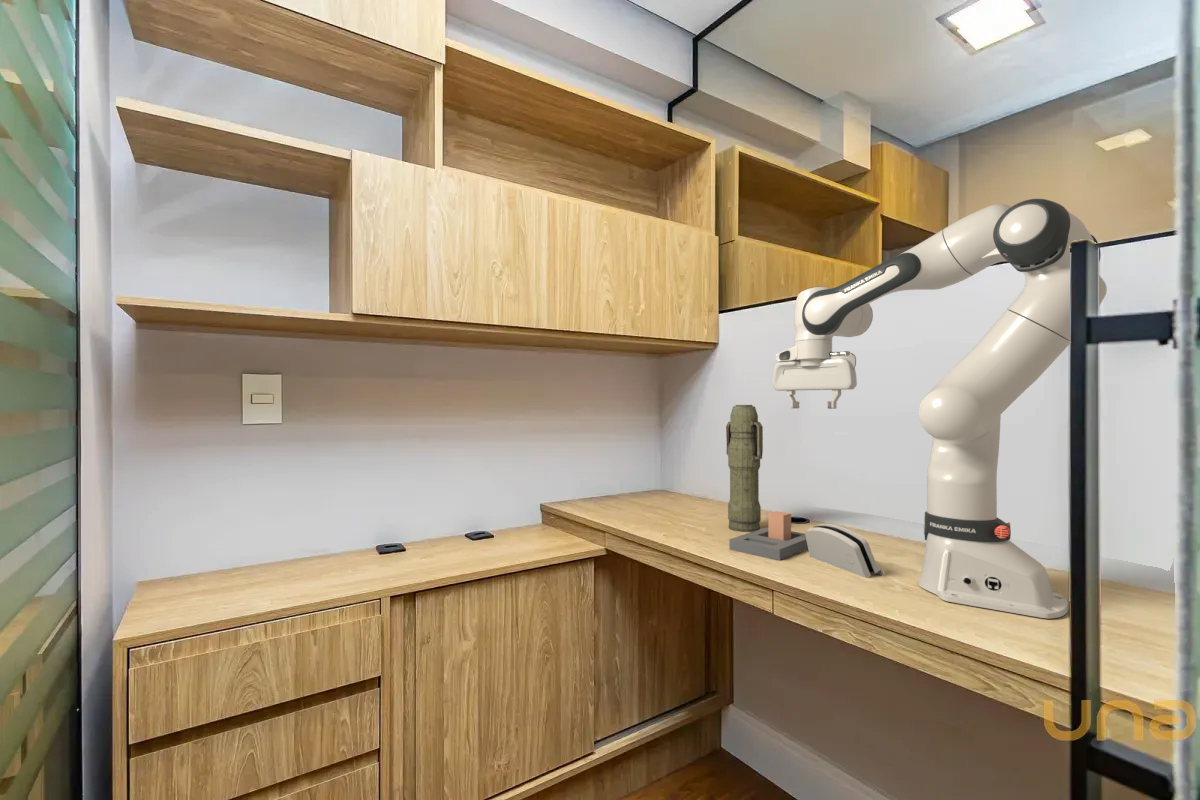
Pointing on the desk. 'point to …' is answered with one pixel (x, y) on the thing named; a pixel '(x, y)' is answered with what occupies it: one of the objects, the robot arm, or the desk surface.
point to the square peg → (779, 525)
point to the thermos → (744, 468)
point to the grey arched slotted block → (841, 549)
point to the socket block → (769, 544)
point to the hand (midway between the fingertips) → (813, 408)
